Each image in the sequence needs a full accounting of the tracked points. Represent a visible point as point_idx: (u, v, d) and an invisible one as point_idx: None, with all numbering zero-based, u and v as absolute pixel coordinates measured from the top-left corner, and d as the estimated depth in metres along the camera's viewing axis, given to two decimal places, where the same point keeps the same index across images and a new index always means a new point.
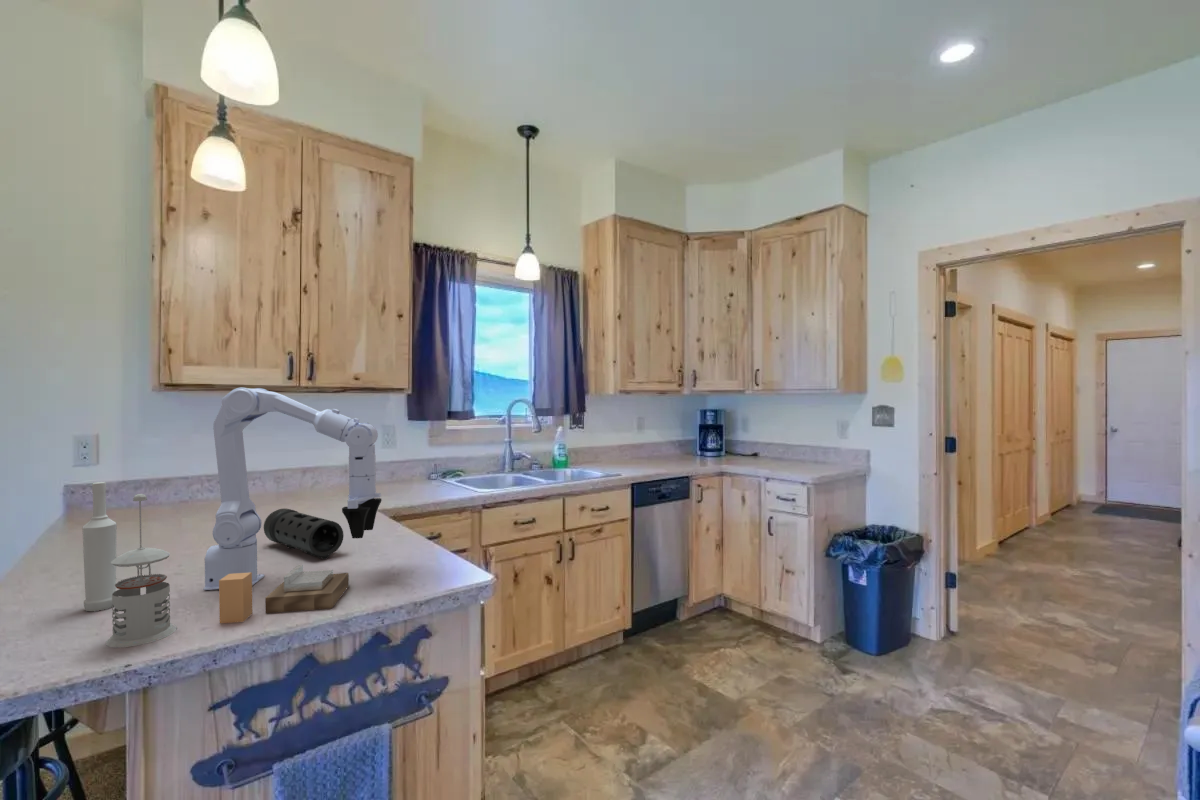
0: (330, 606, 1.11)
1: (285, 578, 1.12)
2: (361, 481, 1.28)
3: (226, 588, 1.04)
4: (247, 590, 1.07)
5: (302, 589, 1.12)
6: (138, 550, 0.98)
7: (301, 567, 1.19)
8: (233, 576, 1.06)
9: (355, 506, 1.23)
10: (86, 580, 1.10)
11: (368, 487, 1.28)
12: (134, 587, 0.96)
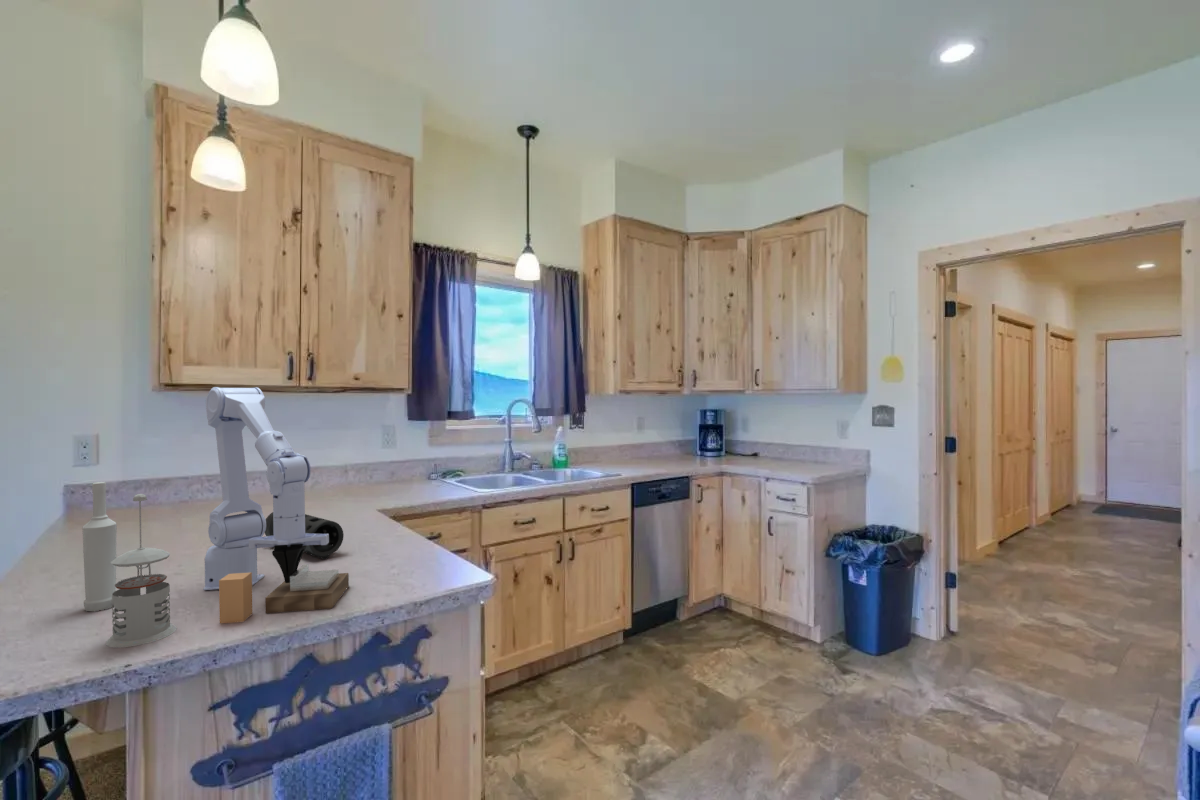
0: (330, 606, 1.11)
1: (291, 578, 1.12)
2: None
3: (226, 588, 1.04)
4: (247, 590, 1.07)
5: (308, 589, 1.12)
6: (138, 550, 0.98)
7: (307, 567, 1.19)
8: (233, 576, 1.06)
9: None
10: (86, 580, 1.10)
11: (275, 530, 1.13)
12: (134, 587, 0.96)
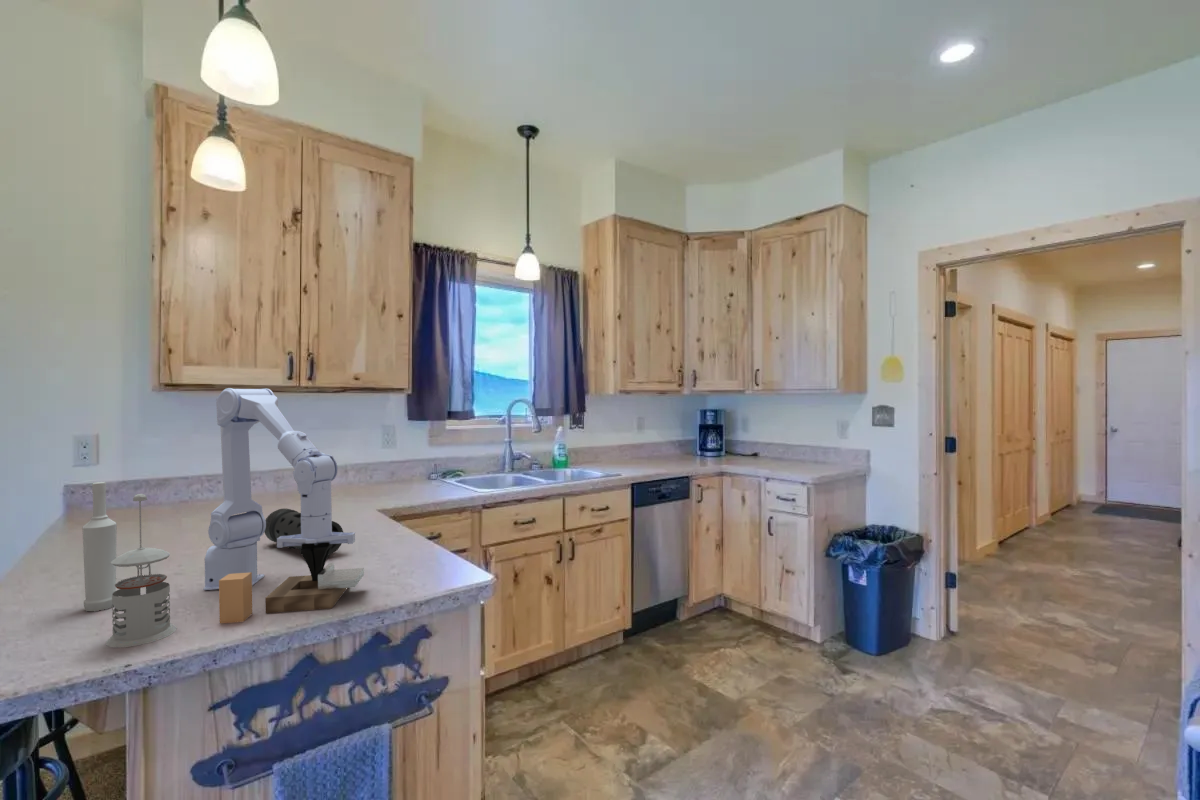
0: (330, 606, 1.11)
1: (319, 576, 1.13)
2: (301, 520, 1.15)
3: (226, 588, 1.04)
4: (247, 590, 1.07)
5: (336, 587, 1.13)
6: (138, 550, 0.98)
7: (333, 565, 1.20)
8: (233, 576, 1.06)
9: None
10: (86, 580, 1.10)
11: (302, 529, 1.14)
12: (134, 587, 0.96)
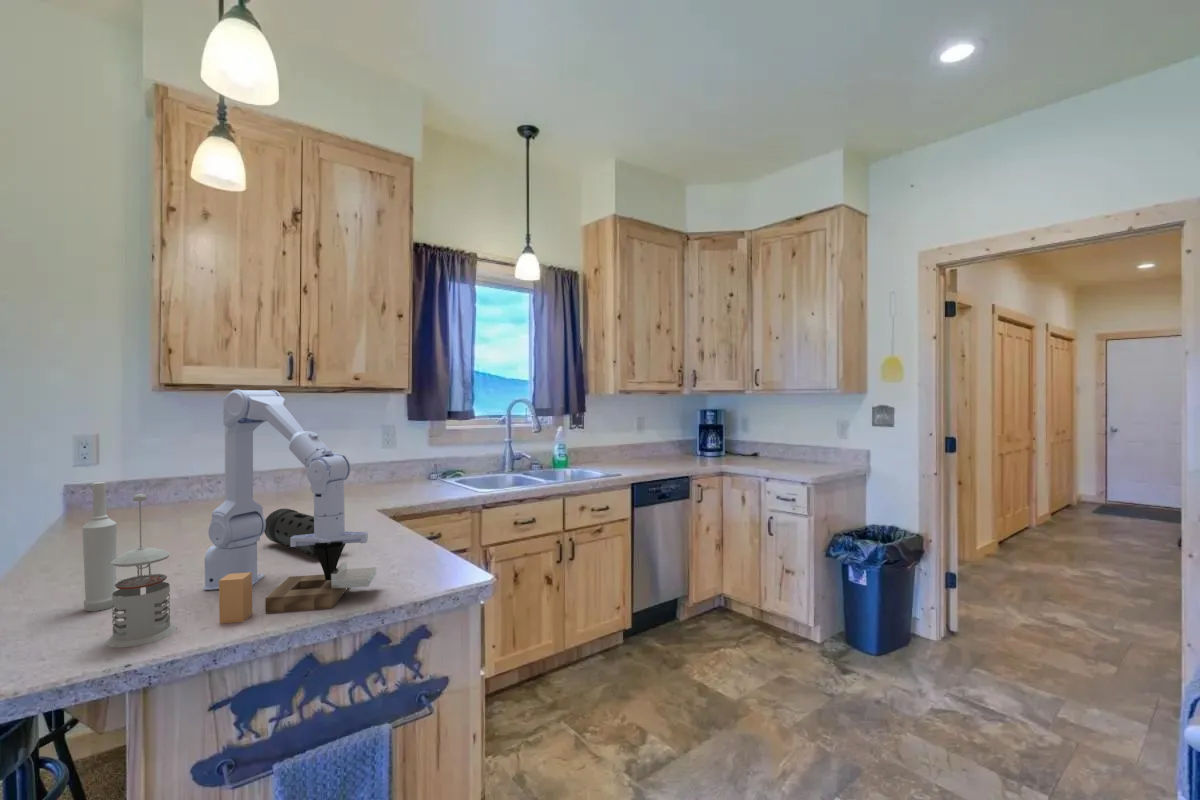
0: (330, 606, 1.11)
1: (332, 575, 1.13)
2: (314, 519, 1.16)
3: (226, 588, 1.04)
4: (247, 590, 1.07)
5: (349, 586, 1.14)
6: (138, 550, 0.98)
7: (345, 564, 1.20)
8: (233, 576, 1.06)
9: None
10: (86, 580, 1.10)
11: (316, 529, 1.14)
12: (134, 587, 0.96)
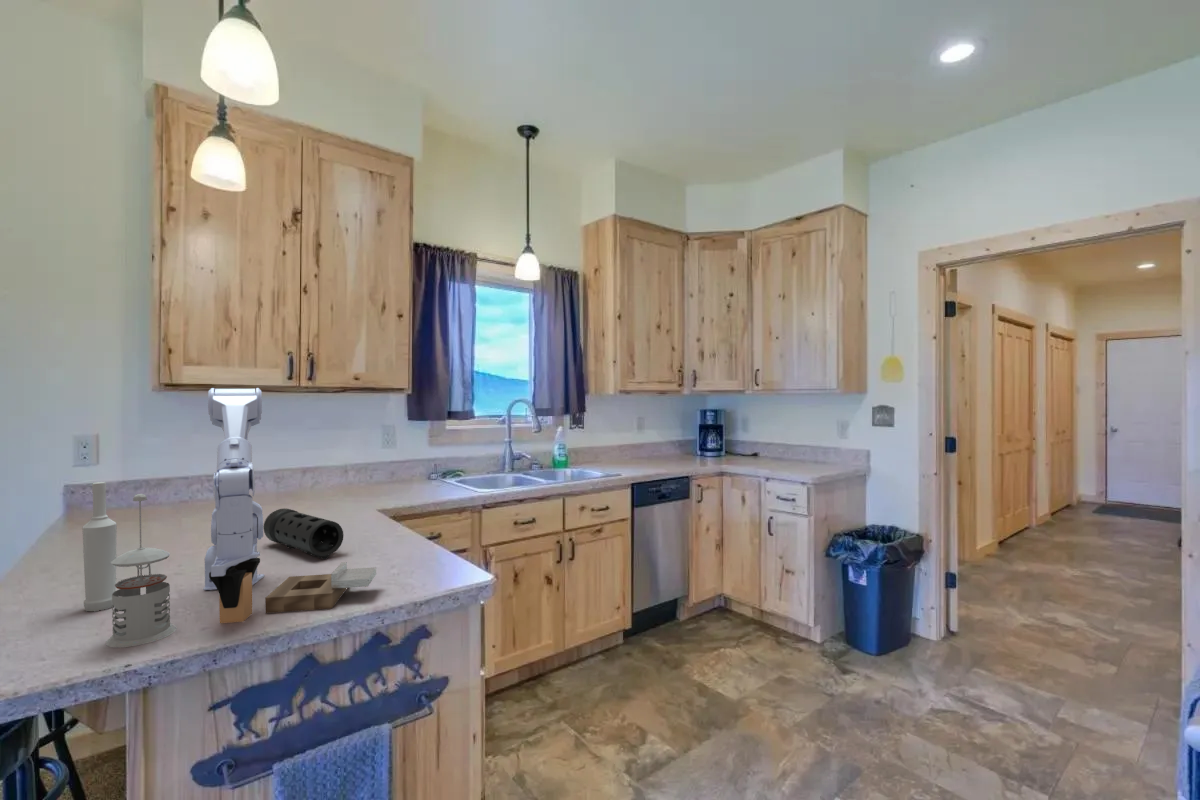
0: (330, 606, 1.11)
1: (332, 575, 1.13)
2: (232, 540, 1.04)
3: None
4: (247, 590, 1.07)
5: (349, 586, 1.14)
6: (138, 550, 0.98)
7: (345, 564, 1.20)
8: None
9: (221, 573, 0.99)
10: (86, 580, 1.10)
11: (242, 547, 1.05)
12: (134, 587, 0.96)
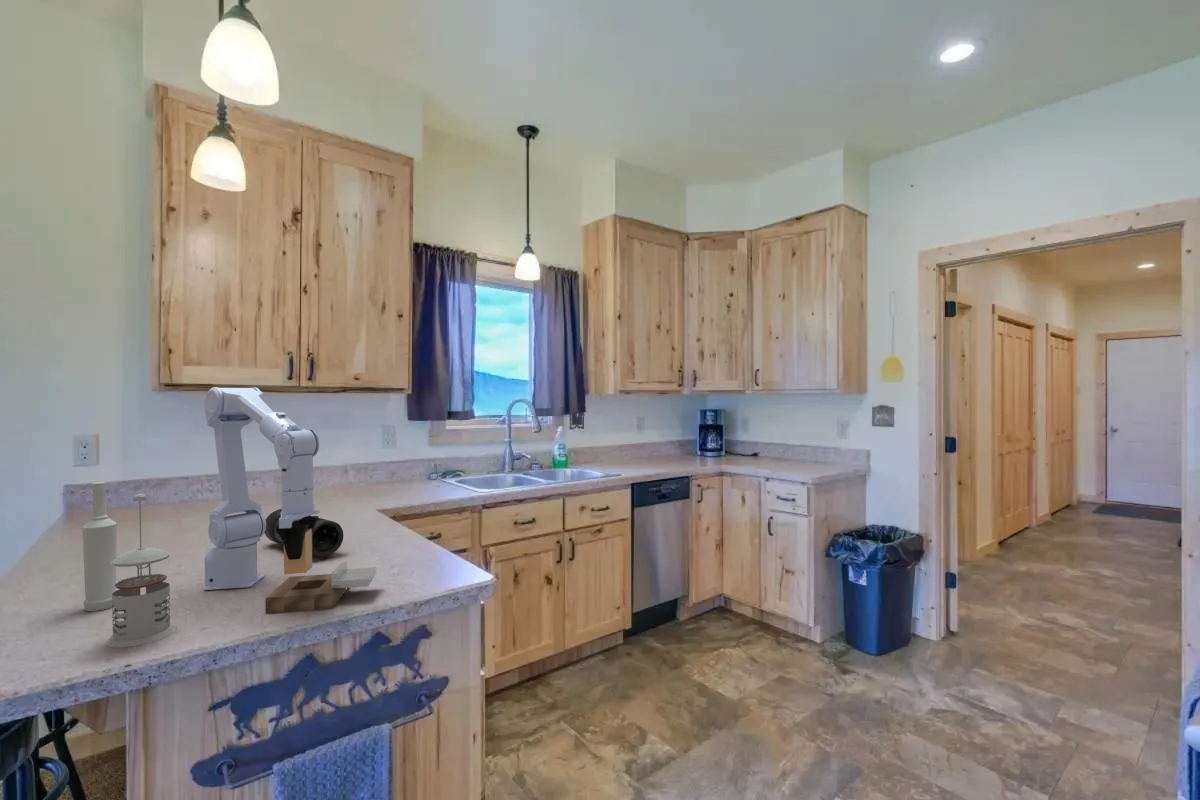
0: (330, 606, 1.11)
1: (332, 575, 1.13)
2: (296, 496, 1.12)
3: None
4: (308, 544, 1.15)
5: (349, 586, 1.14)
6: (138, 550, 0.98)
7: (345, 564, 1.20)
8: None
9: (288, 525, 1.08)
10: (86, 580, 1.10)
11: (305, 503, 1.13)
12: (134, 587, 0.96)
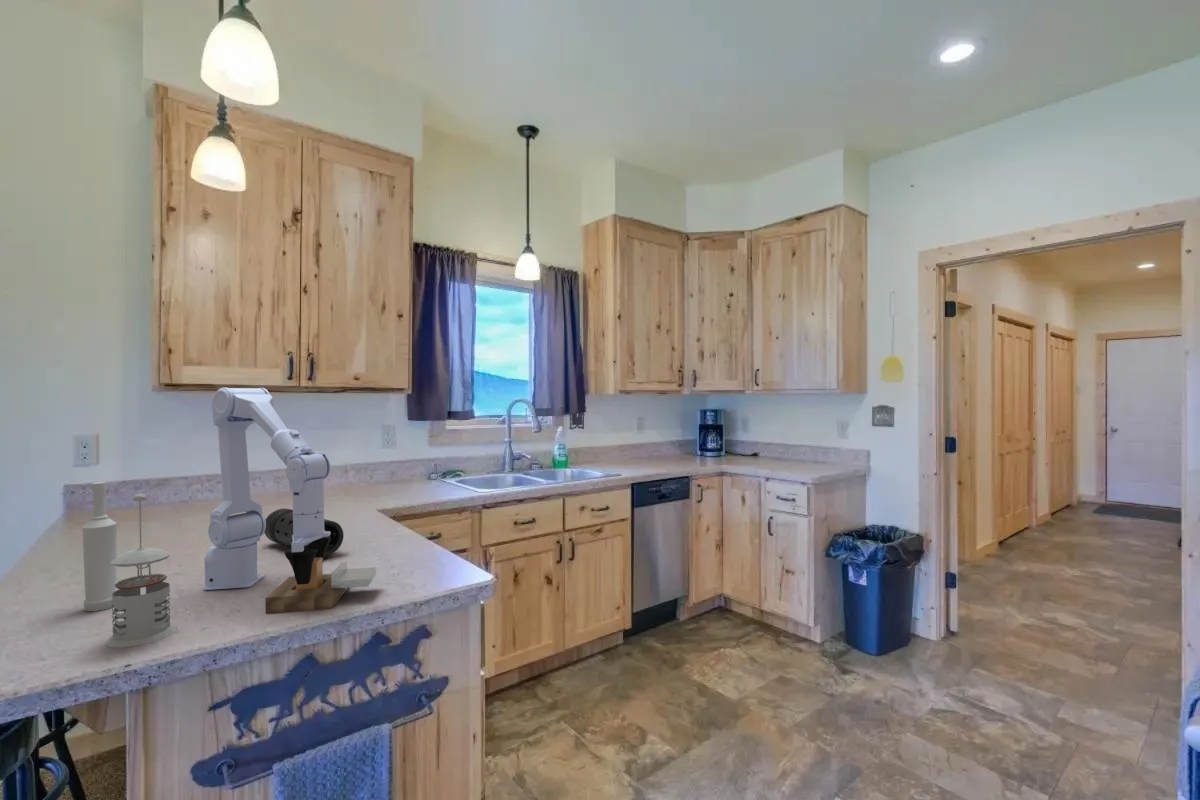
0: (330, 606, 1.11)
1: (332, 575, 1.13)
2: (307, 519, 1.13)
3: None
4: (319, 573, 1.17)
5: (349, 586, 1.14)
6: (138, 550, 0.98)
7: (345, 564, 1.20)
8: None
9: (300, 549, 1.09)
10: (86, 580, 1.10)
11: (316, 526, 1.15)
12: (134, 587, 0.96)
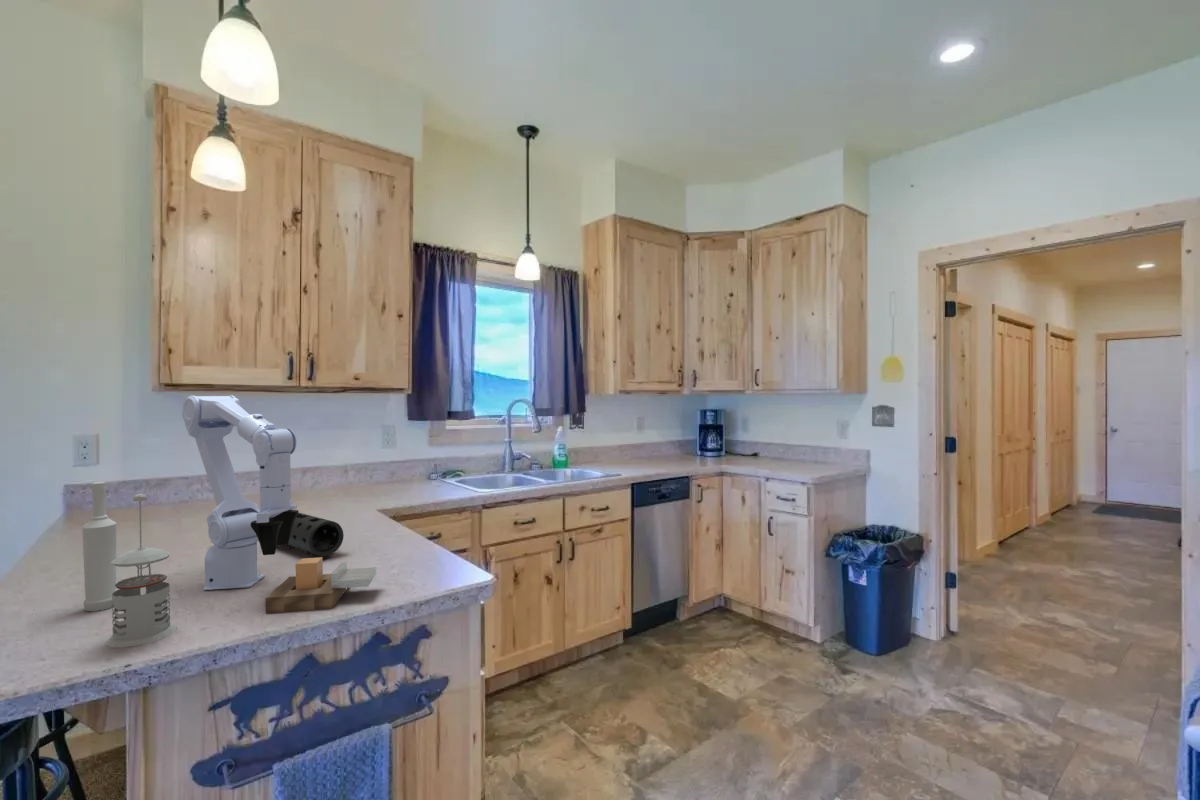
0: (330, 606, 1.11)
1: (332, 575, 1.13)
2: (273, 492, 1.17)
3: (302, 571, 1.14)
4: (319, 573, 1.17)
5: (349, 586, 1.14)
6: (138, 550, 0.98)
7: (345, 564, 1.20)
8: (307, 560, 1.16)
9: (265, 520, 1.13)
10: (86, 580, 1.10)
11: (282, 499, 1.18)
12: (134, 587, 0.96)
